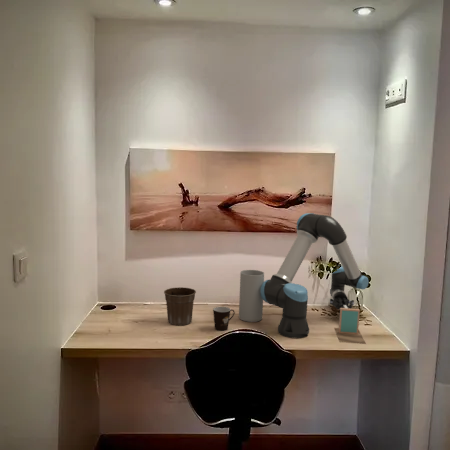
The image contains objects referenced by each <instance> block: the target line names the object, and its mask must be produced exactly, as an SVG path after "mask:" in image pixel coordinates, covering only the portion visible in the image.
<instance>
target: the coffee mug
mask: <svg viewBox="0 0 450 450" xmlns="http://www.w3.org/2000/svg"><path fill="white" fill-rule="evenodd" d="M212 309H213V310H212V311H213V321H214V322H213V324H214V330H215V331H217V332H219V331H220V332H224V331H225V332H226V331H228V329H229V322H230V321H231V320H232V319H233V318H234V316H235V313H236V312H235V310H234V309H231V308H230V307H227V306H216V307H214V308H212ZM232 311H233V312H232ZM231 312H232V316H231Z"/></svg>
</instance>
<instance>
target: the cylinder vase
mask: <svg viewBox="0 0 450 450" xmlns="http://www.w3.org/2000/svg"><path fill="white" fill-rule="evenodd" d="M239 275H240V276H239V278H240V279H239V304H238V318H239V319H240V320H241V321H243V322H248V323H255V322H256V323H257V322H260V321H262V319H263V310H264V300H263V299H262V297H261V292H260V291H261V286H262V284H263V282H264V281H265V272H264V271H261V270H257V269H256V270H255V269H244V270H240V273H239Z"/></svg>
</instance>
